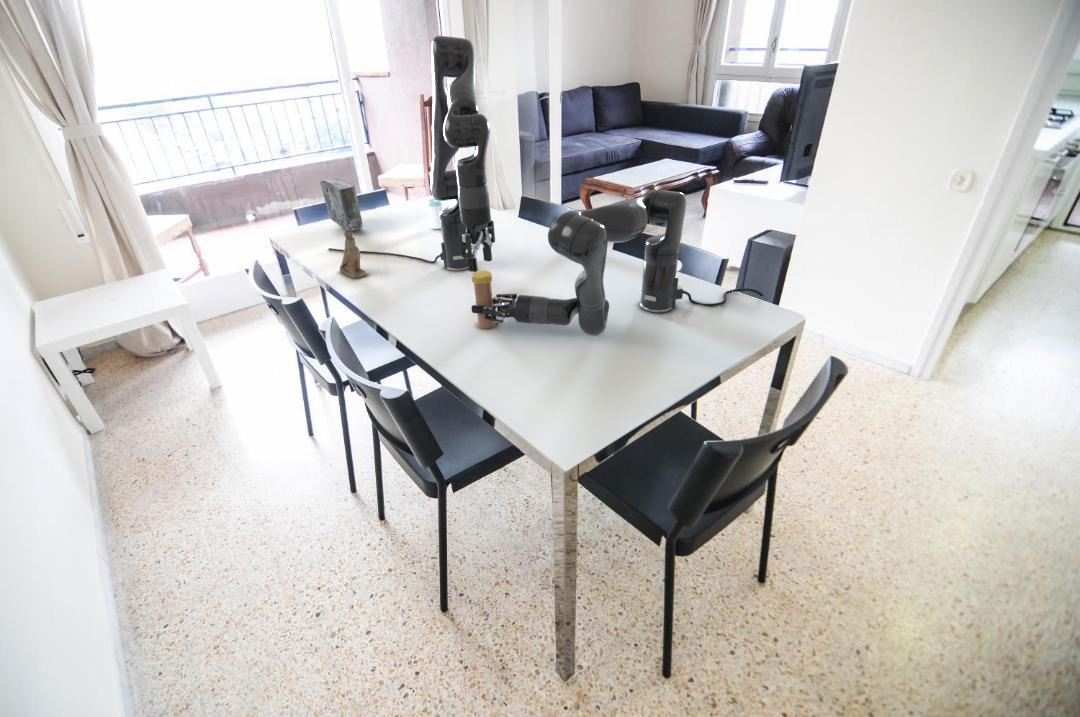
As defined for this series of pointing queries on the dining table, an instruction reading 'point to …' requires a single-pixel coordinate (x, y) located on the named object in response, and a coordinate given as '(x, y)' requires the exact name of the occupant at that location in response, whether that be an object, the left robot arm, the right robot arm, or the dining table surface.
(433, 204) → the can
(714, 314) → the dining table surface
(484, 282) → the lid
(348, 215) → the concrete block
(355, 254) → the worn brown figurine
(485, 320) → the jar
